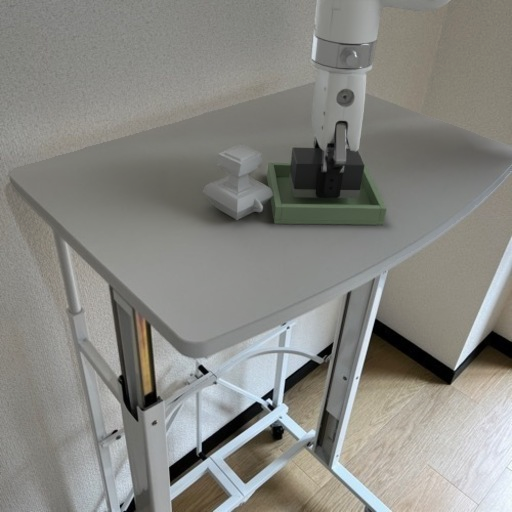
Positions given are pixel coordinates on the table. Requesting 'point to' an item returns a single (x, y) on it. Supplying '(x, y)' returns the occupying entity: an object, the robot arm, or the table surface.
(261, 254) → the table surface
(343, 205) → the tray
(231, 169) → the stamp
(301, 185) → the eraser
